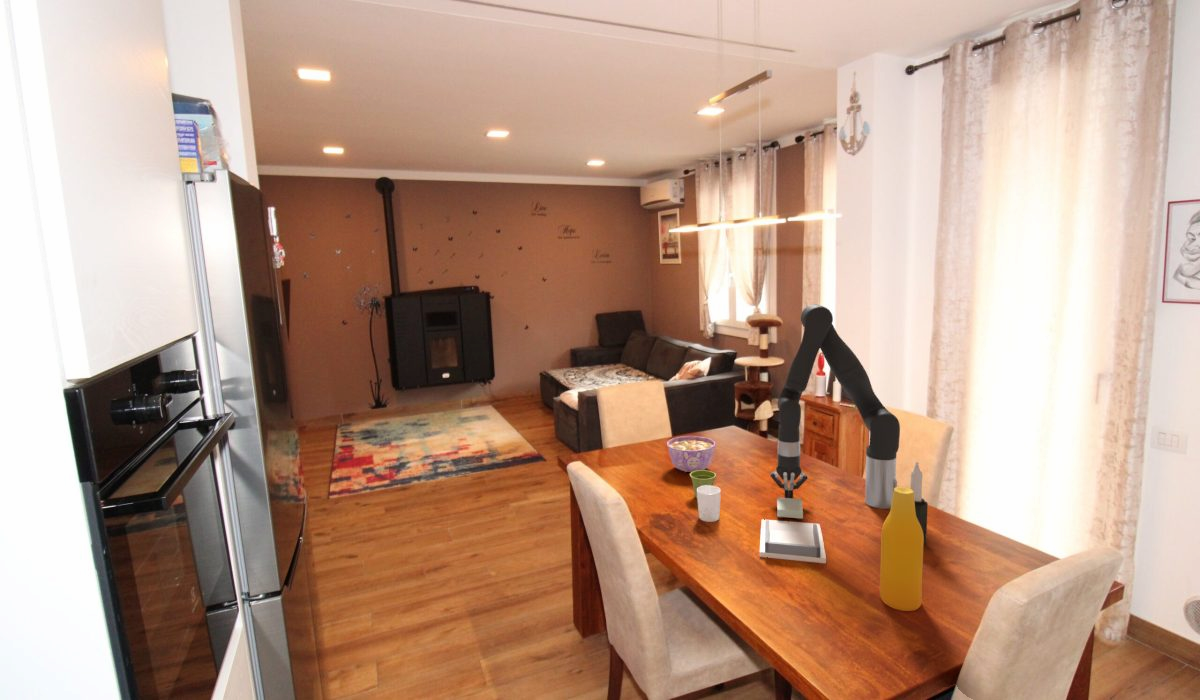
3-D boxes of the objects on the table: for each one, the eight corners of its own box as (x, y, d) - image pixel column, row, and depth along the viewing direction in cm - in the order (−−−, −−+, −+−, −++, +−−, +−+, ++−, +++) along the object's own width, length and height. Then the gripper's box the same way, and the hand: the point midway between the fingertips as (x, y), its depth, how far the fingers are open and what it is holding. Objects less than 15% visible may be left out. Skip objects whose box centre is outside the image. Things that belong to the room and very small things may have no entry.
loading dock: (819, 526, 184) (819, 510, 183) (825, 566, 160) (826, 548, 159) (761, 522, 189) (761, 506, 188) (759, 559, 165) (759, 542, 164)
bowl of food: (695, 482, 223) (694, 454, 221) (657, 470, 238) (656, 444, 236) (725, 468, 236) (725, 442, 234) (688, 458, 251) (687, 433, 249)
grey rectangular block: (801, 508, 195) (801, 499, 195) (802, 521, 186) (802, 511, 185) (777, 506, 198) (777, 497, 197) (777, 519, 188) (777, 509, 188)
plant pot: (690, 491, 214) (689, 469, 213) (715, 491, 213) (715, 469, 212) (690, 502, 205) (690, 479, 204) (717, 502, 204) (716, 479, 202)
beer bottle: (903, 616, 135) (907, 500, 131) (871, 596, 143) (873, 487, 139) (930, 605, 138) (934, 492, 134) (897, 587, 147) (900, 480, 143)
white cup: (694, 513, 195) (694, 486, 194) (717, 511, 196) (716, 484, 194) (700, 523, 188) (700, 495, 186) (724, 521, 188) (723, 493, 187)
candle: (917, 548, 166) (919, 466, 162) (900, 540, 170) (903, 461, 166) (927, 543, 168) (930, 462, 164) (911, 536, 172) (914, 457, 169)
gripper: (808, 449, 200) (808, 496, 202) (769, 447, 204) (769, 493, 206) (809, 456, 193) (809, 505, 195) (769, 454, 197) (769, 502, 199)
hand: (788, 499), depth 201 cm, fingers closed
